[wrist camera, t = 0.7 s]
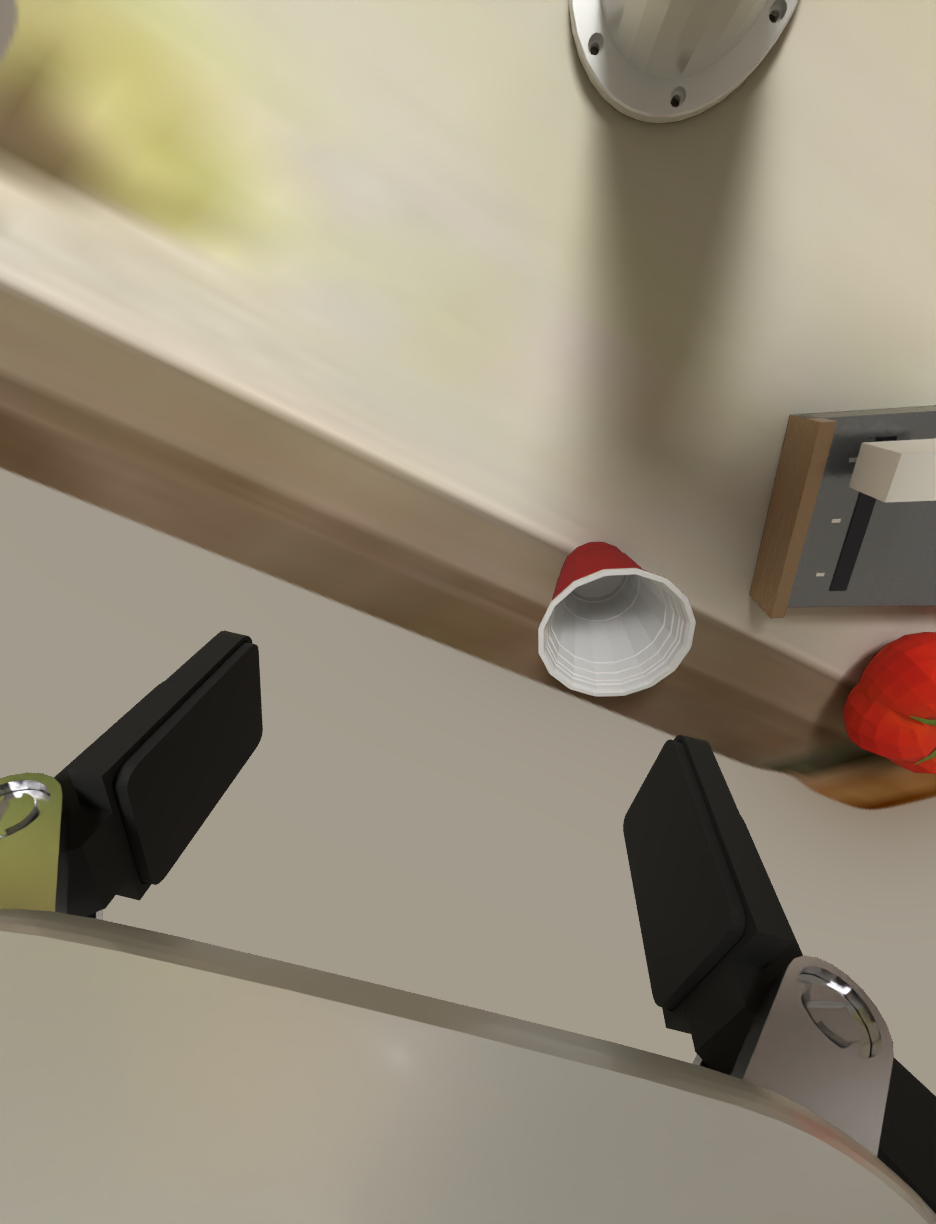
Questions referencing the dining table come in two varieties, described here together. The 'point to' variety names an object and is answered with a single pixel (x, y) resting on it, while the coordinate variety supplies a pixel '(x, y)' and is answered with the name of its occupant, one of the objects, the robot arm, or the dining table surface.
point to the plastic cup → (613, 624)
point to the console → (844, 520)
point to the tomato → (898, 704)
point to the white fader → (896, 470)
